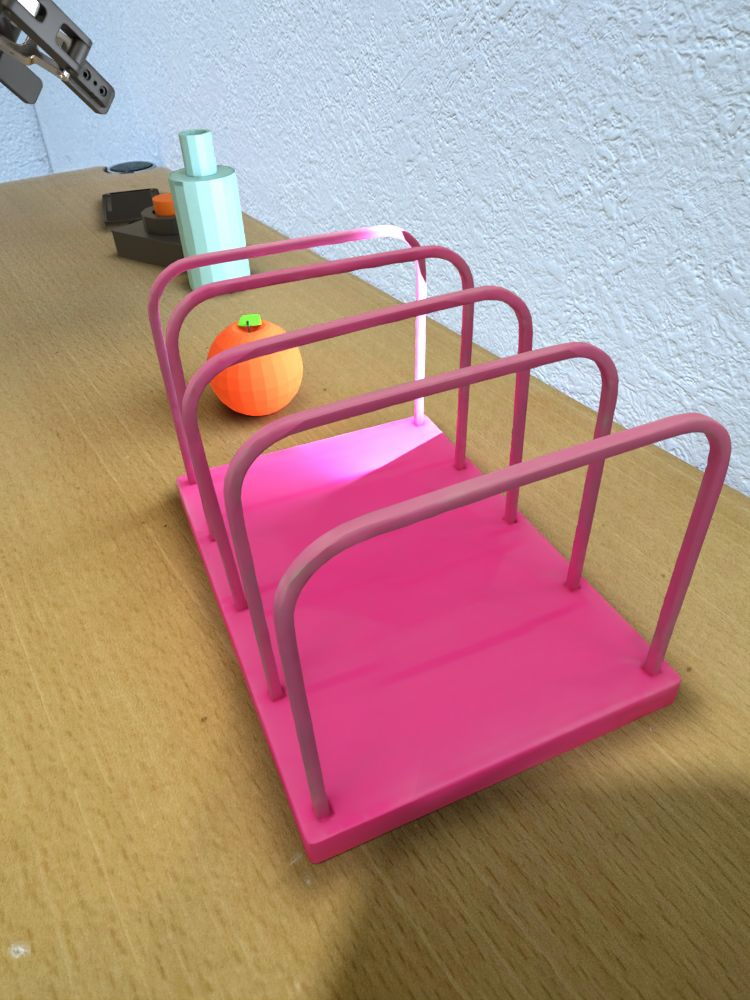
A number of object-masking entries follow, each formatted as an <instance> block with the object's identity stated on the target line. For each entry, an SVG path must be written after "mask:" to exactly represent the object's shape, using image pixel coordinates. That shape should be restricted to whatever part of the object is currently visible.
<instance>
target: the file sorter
mask: <svg viewBox="0 0 750 1000" xmlns="http://www.w3.org/2000/svg"><path fill="white" fill-rule="evenodd" d="M381 237H382V238H384V237H385V238H387V237H390V238H393V239H394V238H395V239H398V240H401V241H403V242H404V243H405V244H406V245H407V246H408V247H405V248H401V249H395V250H389V251H383V252H378V253H377V252H376V253H371V254H364V255H358V256H352V257H346V258H340V259H334V260H327V261H323V262H317V263H311V264H306V265H305V264H304V265H299V266H293V267H287V268H282V269H276V270H271V271H264V272H260V273H255V274H250V275H248V276H243V277H238V278H232V279H227V280H222V281H218V282H213V283H208V284H206V285H203V286H201V287H199V288H197V289H195V290H194V291H193V290H192V291H191V292H189V293H188V294H186V295H185V296H184V297H183V298H182V299H181V300H179V302H178V303H177V305H176V306H175V307H174V308H173V311H172V312H171V314H170V316H169V318H168V321H167V324H166V328H165V337H164V332H163V327H162V321H161V316H160V301H161V298H162V296H163V294H164V291H165V289H166V287H167V286H168V284H169V283H171V281H172V280H173V279H174V278H176V277H177V276H178V275H180V274H183V273H185V272H184V271H187V270H191V269H194V268H198V267H204V266H209V265H214V264H220V263H226V262H232V261H238V260H244V259H248V260H249V259H254V258H261V257H267V256H272V255H278V254H282V253H287V252H294V251H300V250H307V249H312V248H316V247H317V248H318V247H323V246H335V245H339V244H343V243H348V242H358V241H364V240H369V239H377V238H381ZM426 259H439V260H444V261H447V262H449V263H451V264H452V266H454V268H455V269H456V270H457V272H458V275H459V277H460V280H461V290H457V291H453V292H448V293H443V294H439V295H435V296H430V297H427V265H426V263H427V262H426ZM409 262H410V263H411V262H414V263H415V264H414V266H415V300H412V301H409V302H405V303H401V304H397V305H396V304H395V305H392V306H387V307H383V308H379V309H374V310H370V311H367V312H361V313H358V314H354V315H350V316H347V317H342V318H337V319H334V320H331V321H330V320H329V321H326V322H323V323H318V324H314V325H310V326H306V327H302V328H299V329H294V330H291V331H285V332H286V333H282V334H279V335H275V336H271V337H267V338H263V339H260V340H256V341H252V342H249V343H245V344H241V345H238V346H234V347H232V348H229V349H226V350H224V351H222V352H220V353H218V354H217V355H215V356H213V357H212V358H210V359H209V360H208V361H207V360H206V361H205V362H203V364H201V365H200V367H199V368H198V369H197V371H196V372H195V373H194V374H193V375H192V377H191V378H190V380H189V382H188V384H187V383H186V379H185V373H184V369H183V362H182V358H181V354H180V347H179V346H180V345H179V339H180V332H181V328H182V326H183V323H184V321H185V320H186V317H188V315H189V314H190V312H192V310H193V309H195V308H196V307H198V306H199V305H200V304H202V303H204V302H205V301H207V300H210V299H213V298H216V297H220V296H224V295H233V294H236V293H238V292H245V291H249V290H250V291H251V290H256V289H261V288H266V287H272V286H277V285H283V284H289V283H294V282H299V281H305V280H309V279H310V280H311V279H317V278H322V277H328V276H334V275H340V274H341V275H342V274H346V273H352V272H355V271H359V270H360V271H361V270H366V269H367V270H368V269H376V268H381V267H385V266H390V265H397V264H405V263H409ZM147 297H148V298H147V314H148V320H149V326H150V330H151V335H152V340H153V344H154V348H155V352H156V357H157V361H158V365H159V369H160V373H161V377H162V381H163V385H164V390H165V394H166V398H167V402H168V405H169V409H170V414H171V418H172V422H173V426H174V430H175V434H176V439H177V442H178V446H179V451H180V454H181V458H182V462H183V465H184V470H185V474H182V475H179V476H177V478H176V480H175V481H176V487H177V492H178V496H179V500H180V503H181V505H182V508H183V511H184V514H185V516H186V517H185V518H186V519H187V522H188V525H189V528H190V531H191V534H192V536H193V539H194V542H195V544H196V548H197V550H198V553H199V556H200V559H201V561H202V564H203V567H204V570H205V573H206V575H207V579H208V581H209V584H210V587H211V589H212V592H213V595H214V598H215V601H216V603H217V604H216V605H217V606H218V609H219V612H220V616H221V618H222V621H223V624H224V627H225V629H226V632H227V635H228V638H229V640H230V643H231V647H232V649H233V652H234V654H235V658H236V661H237V663H238V666H239V669H240V671H241V674H242V677H243V681H244V683H245V685H246V689H247V691H248V693H249V697H250V700H251V702H252V705H253V708H254V711H255V714H256V716H257V720H258V722H259V725H260V728H261V730H262V733H263V735H264V739H265V741H266V744H267V747H268V750H269V753H270V756H271V758H272V759H271V760H272V762H273V765H274V767H275V770H276V772H277V775H278V778H279V781H280V784H281V786H282V790H283V792H284V795H285V798H286V800H287V804H288V807H289V809H290V812H291V816H292V817H293V820H294V821H293V822H294V824H295V826H296V829H297V832H298V835H299V838H300V841H301V843H302V846H303V849H304V853H305V855H306V858H307V860H309V862H311V863H312V864H315V865H317V864H319V863H322V862H325V861H327V860H329V859H332V858H334V857H336V856H337V855H341V854H342V853H344V852H347V851H349V850H351V849H354V848H356V847H358V846H360V845H362V844H365V843H367V842H369V841H371V840H373V839H376V838H377V837H380V836H383V835H385V834H387V833H389V832H391V831H393V830H395V829H398V828H400V827H403V826H405V825H407V824H409V823H411V822H414V821H415V820H417V819H420V818H422V817H424V816H426V815H429V814H431V813H433V812H436V811H437V810H441V809H442V808H445V807H447V806H449V805H451V804H453V803H456V802H458V801H460V800H462V799H464V798H467V797H470V796H471V795H473V794H475V793H477V792H480V791H482V790H484V789H486V788H489V787H492V786H494V785H495V784H497V783H499V782H503V781H504V780H506V779H509V778H511V777H513V776H516V775H518V774H520V773H522V772H524V771H526V770H528V769H531V768H533V767H536V766H537V765H540V764H543V763H544V762H547V761H549V760H551V759H554V758H556V757H558V756H560V755H562V754H565V753H567V752H570V751H572V750H574V749H576V748H578V747H580V746H582V745H586V744H587V743H589V742H591V741H594V740H596V739H598V738H601V737H602V736H605V735H606V734H607V735H608V734H610V733H611V732H613V731H616V730H618V729H620V728H622V727H624V726H627V725H629V724H631V723H633V722H635V721H637V720H639V719H641V718H644V717H646V716H648V715H651V714H652V713H655V712H657V711H660V710H663V709H664V708H667V707H668V706H670V705H672V704H674V703H675V700H676V698H677V694H678V692H679V690H680V689H679V688H680V686H681V683H682V678H681V676H680V674H679V673H678V672H677V671H676V670H675V669H674V668H673V667H672V666H671V665H670V664H669V663H668V662H667V661H666V660H665V656H666V654H667V650H668V648H669V645H670V642H671V639H672V636H673V632H674V629H675V627H676V624H677V621H678V618H679V615H680V613H681V609H682V606H683V603H684V601H685V598H686V595H687V593H688V589H689V587H690V584H691V580H692V578H693V575H694V572H695V569H696V565H697V563H698V559H699V557H700V554H701V551H702V548H703V545H704V542H705V540H706V536H707V534H708V530H709V528H710V525H711V522H712V520H713V516H714V513H715V510H716V508H717V504H718V501H719V498H720V495H721V492H722V490H723V486H724V484H725V480H726V477H727V473H728V470H729V466H730V461H731V455H732V449H733V448H732V439H731V436H730V433H729V431H728V430H727V429H726V427H724V425H722V424H721V423H720V422H718V421H717V420H715V419H714V418H713V417H711V416H708V415H706V414H704V413H700V412H685V413H680V414H679V413H678V414H674V415H669V416H666V417H663V418H660V419H656V420H654V421H650V422H646V423H644V424H640V425H637V426H634V427H630V428H627V429H624V430H621V431H617V432H614V433H612V428H613V423H614V417H615V411H616V407H617V400H618V397H619V383H620V379H619V373H618V369H617V366H616V364H615V362H614V361H613V359H612V357H611V356H610V355H609V354H608V353H606V351H604V350H603V349H601V348H599V347H598V346H596V345H593V344H592V343H588V342H584V341H570V342H569V341H568V342H564V343H559V344H553V345H549V346H544V347H541V348H537V349H536V348H535V349H533V343H534V342H533V341H534V338H533V337H534V326H533V316H532V314H531V311H530V309H529V307H528V305H527V304H526V303H525V301H524V300H523V299H522V298H521V297H520V296H518V295H517V294H516V293H514V292H512V290H509V289H507V288H506V287H503V286H498V285H481V286H475V282H474V276H473V273H472V270H471V268H470V266H469V264H468V263H467V261H466V260H465V259H464V258H463V257H462V256H461V255H460V254H458V253H457V252H456V251H454V250H452V249H450V248H448V247H445V246H442V245H435V244H434V245H433V244H430V245H428V244H427V245H421V244H420V242H419V241H418V240H417V239H416V237H415V236H413V235H412V234H411V233H410V232H409V231H407V230H405V229H403V228H401V227H399V226H395V225H391V224H382V225H372V226H366V227H359V228H351V229H345V230H340V231H332V232H326V233H319V234H313V235H307V236H301V237H300V236H299V237H295V238H287V239H282V240H276V241H270V242H264V243H258V244H253V245H246V246H245V247H240V248H234V249H228V250H222V251H216V252H210V253H205V254H200V255H194V256H189V257H186V258H183V259H180V260H178V261H176V262H174V263H172V264H170V265H169V266H168V267H167V268H166V267H164V269H163V270H162V271H161V272H160V273H159V274H158V276H157V277H156V278H155V280H154V282H153V284H152V286H151V288H150V289H149V293H148V296H147ZM483 301H484V302H485V301H496V302H497V301H499V302H502V303H504V304H506V305H507V306H509V308H510V309H512V310H513V312H514V314H515V317H516V319H517V320H516V321H517V324H518V339H517V341H518V343H517V344H518V345H517V352H516V353H517V354H513V355H509V356H504V357H501V358H497V359H493V360H489V361H485V362H482V363H478V364H474V365H472V355H473V353H472V352H473V340H474V339H473V336H474V322H475V321H474V320H475V318H474V317H475V303H479V302H483ZM461 306H462V310H461V311H462V312H461V315H462V316H461V329H460V350H459V351H460V352H459V368H457V369H454V370H450V371H446V372H441V373H439V374H435V375H430V376H427V377H425V370H426V369H425V368H426V365H425V364H426V321H427V320H426V319H427V318H426V317H427V315H429V314H432V313H436V312H440V311H444V310H445V311H446V310H450V309H453V308H457V307H461ZM413 318H415V323H414V324H415V343H414V353H415V355H414V357H415V358H414V360H415V361H414V380H412V381H409V382H404V383H401V384H397V385H393V386H390V387H389V386H388V387H384V388H380V389H378V390H374V391H371V392H367V393H362V394H359V395H356V396H352V397H349V398H344V399H340V400H337V401H333V402H330V403H327V404H322V405H319V406H315V407H311V408H308V409H305V410H301V411H298V412H294V413H291V414H287V415H285V416H281V417H279V418H277V419H274V420H272V421H271V422H269V423H267V424H265V425H264V426H262V427H260V428H259V429H258V430H256V431H255V432H253V434H251V436H249V437H248V438H247V439H246V440H245V441H244V442H243V443H242V444H241V446H239V448H237V450H236V452H235V453H234V455H233V456H232V458H231V459H230V461H229V462H228V463H226V464H221V465H218V466H213V467H209V462H208V459H207V455H206V451H205V447H204V443H203V439H202V436H201V431H200V427H199V421H198V407H199V403H200V400H201V398H202V394H203V393H204V391H205V390H206V388H207V386H208V385H210V381H211V380H212V379H213V378H214V377H215V376H216V375H218V374H219V373H220V372H222V371H223V370H225V369H226V368H228V367H230V366H233V365H235V364H238V363H241V362H245V361H248V360H251V359H254V358H258V357H262V356H266V355H270V354H273V353H277V352H281V351H284V350H288V349H292V348H295V347H298V348H299V347H303V346H306V345H310V344H314V343H319V342H321V341H325V340H329V339H333V338H337V337H342V336H345V335H348V334H352V333H356V332H359V331H364V330H367V329H371V328H375V327H380V326H383V325H387V324H392V323H397V322H401V321H406V320H407V319H413ZM577 358H579V359H587V360H590V361H592V362H594V364H595V365H596V366H597V369H598V371H599V372H600V379H601V388H600V395H599V402H598V403H599V404H598V410H597V417H596V420H595V427H594V430H593V431H594V432H593V438H592V439H590V440H588V441H584V442H582V443H578V444H575V445H572V446H569V447H566V448H562V449H559V450H557V451H554V452H550V453H546V454H544V455H541V456H538V457H537V456H536V457H535V458H531V459H528V460H525V461H523V454H524V453H523V452H524V444H525V434H526V433H525V432H526V423H527V422H526V420H527V412H528V411H527V410H528V402H529V401H528V400H529V389H530V379H531V370H533V369H536V368H539V367H542V366H546V365H549V364H554V363H558V362H562V361H567V360H569V359H577ZM513 374H515V386H514V397H513V399H514V400H513V415H512V416H513V417H512V428H511V440H510V451H509V461H508V466H506V467H503V468H500V469H498V470H497V469H496V470H494V471H491V472H488V473H485V474H484V473H482V472H481V470H480V469H479V468H478V467H477V466H476V465H475V464H474V463H473V462H472V461H471V460H470V459H469V458H468V457H467V456H466V451H467V436H468V420H469V405H470V404H469V403H470V390H471V389H470V388H471V387H470V386H471V385H475V384H478V383H481V382H485V381H489V380H493V379H497V378H501V377H504V376H507V375H513ZM456 389H457V390H458V391H457V410H456V411H457V414H456V427H455V429H456V430H455V444H454V443H453V442H452V441H451V439H449V437H448V436H447V435H446V434H445V433H444V432H443V431H442V430H441V429H440V428H439V427H438V426H437V425H436V424H435V423H434V422H433V421H432V420H431V419H430V418H429V416H427V415H426V414H424V413H425V405H424V404H425V402H424V401H425V400H424V399H425V398H426V397H429V396H433V395H437V394H441V393H445V392H449V391H452V390H456ZM408 402H414V404H413V405H414V410H413V411H414V412H413V416H411V417H407V418H402V419H397V420H393V421H389V422H385V423H381V424H379V425H374V426H370V427H366V428H363V429H359V430H354V431H350V432H347V433H342V434H339V435H334V436H331V437H326V438H323V439H318V440H315V441H310V442H307V443H303V444H299V445H294V446H291V447H287V448H284V449H279V450H275V451H271V452H268V453H264V452H265V451H266V450H268V449H269V448H270V447H272V446H273V445H274V444H276V443H278V442H281V440H284V439H286V438H288V437H290V436H293V435H295V434H299V433H302V432H306V431H310V430H312V429H315V428H320V427H323V426H326V425H330V424H333V423H338V422H340V421H343V420H348V419H351V418H354V417H358V416H363V415H366V414H370V413H373V412H376V411H380V410H384V409H386V408H391V407H393V406H397V405H401V404H406V403H408ZM694 433H699V434H700V433H701V434H703V435H704V436H705V437H706V439H707V442H708V444H709V451H708V455H707V460H706V467H705V469H704V473H703V475H702V479H701V482H700V486H699V489H698V492H697V495H696V498H695V502H694V505H693V509H692V512H691V515H690V517H689V521H688V524H687V526H686V527H687V528H686V530H685V533H684V536H683V539H682V542H681V545H680V549H679V552H678V555H677V557H676V561H675V565H674V568H673V571H672V573H671V577H670V580H669V584H668V587H667V590H666V592H665V594H664V598H663V603H662V606H661V608H660V611H659V614H658V615H659V616H658V619H657V622H656V626H655V630H654V632H653V636H652V640H651V643H650V644H649V643H648V642H647V641H646V639H644V637H642V636H641V635H640V633H639V632H638V631H637V630H636V629H635V628H634V627H633V626H632V625H631V624H630V623H629V622H628V621H627V620H626V619H625V618H624V617H623V616H622V614H620V612H618V611H617V610H616V609H615V608H614V607H613V605H611V604H610V603H609V602H608V601H607V600H606V599H605V598H604V596H602V594H600V592H599V591H597V589H595V587H593V586H592V585H591V583H589V582H588V580H587V579H586V578H585V577H583V575H582V574H583V570H584V565H585V561H586V555H587V551H588V545H589V542H590V538H591V537H590V536H591V533H592V527H593V522H594V517H595V511H596V508H597V502H598V497H599V494H600V493H599V491H600V487H601V483H602V478H603V473H604V467H605V462H606V460H607V459H611V458H612V457H616V456H619V455H622V454H625V453H628V452H631V451H634V450H638V449H640V448H644V447H646V446H649V445H653V444H656V443H658V442H662V441H666V440H669V439H673V438H676V437H679V436H683V435H688V434H694ZM263 453H264V454H263ZM585 466H587V470H586V476H585V481H584V485H583V491H582V495H581V496H582V497H581V502H580V507H579V513H578V519H577V524H576V527H575V532H574V537H573V542H572V549H571V554H570V559H569V561H568V560H567V559H566V558H565V557H564V555H562V554H561V553H560V552H559V550H557V548H555V546H554V545H552V544H551V543H550V541H549V540H547V538H546V537H545V536H544V535H543V534H542V533H541V532H540V531H539V530H538V529H537V528H536V527H535V526H534V525H533V524H532V523H531V522H530V521H529V519H527V518H526V516H524V515H523V513H521V511H520V510H518V503H519V497H520V496H519V495H520V488H521V487H524V486H527V485H530V484H534V483H537V482H539V481H543V480H546V479H549V478H551V477H555V476H558V475H561V474H564V473H567V472H570V471H573V470H576V469H579V468H583V467H585ZM503 493H506V496H505V495H504V494H503Z"/></svg>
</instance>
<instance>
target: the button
mask: <svg viewBox="0 0 750 1000" xmlns="http://www.w3.org/2000/svg"><path fill="white" fill-rule="evenodd" d="M159 194H160V195H157V196H155V197H153V198H152V201H153V206H154V210H155V215H160V216H168V215H175V210H174V205H173V200H172V195H171V192H166V193H159Z"/></svg>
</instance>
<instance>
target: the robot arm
mask: <svg viewBox="0 0 750 1000" xmlns="http://www.w3.org/2000/svg"><path fill="white" fill-rule="evenodd" d="M60 30H61V31H60ZM22 32H23V33H24V34H25V35H26V37H25V39H24V41H23V42H22V43H18V40H19V37H20V36H21V33H22ZM93 44H94V42H93V41H92V40H91V38H90V37H89V36H88V35H87V34H86V33H85V32H84V31H83V30H82V29H81V28H80V27H79V26H78V25H77V23H75V22H74V21H73V19H72V18H70V17H69V16H68V15H67V14H66V13H65V12H64V11H63V9H61V7H60V6H58V5H57V4H56V3H55V2H54V1H53V0H0V84H2V85H3V86H4V87H5V88H6V89H7V90H8V91H10V93H12V94H13V95H14V96H16V97H17V98H18V99H19V100H20V101H21V102H22V103H23V104H27V105H35V104H36V103H37V101H38V99H39V98H40V97H39V96H40V94H41V92H42V90H43V88H44V84H43V83H44V82H43V80H42V79H41V78H40V77H39V76H38V75H37V74H36V73H35V72H34V71H33V70H32V69H30V67H28V66H32V65H37V66H39V67H40V68H42V69H44V70H45V71H47V72H48V73H50V74H51V75H53V76H55V77H56V78H57V79H59V80H60V82H62V83H63V84H64V85H65V86H66V87H67V88H68V89H69V90H70V91H71V92H72V93H73V94H75V95H76V96H77V97H78V98H79V99H80V100H81V101H82V103H84V105H86V106H87V107H88V108H89V109H90V110H92V112H93V113H94V114H97V115H104V116H105V115H107V114H109V113H108V112H109V111H110V109H111V106H112V105H113V101H114V100H115V98H116V91H115V88H114V86H113V85H112V84H111V83H109V81H107V79H106V78H105V77H104V76H103V75H102V74H101V73H100V72H99V71H98V70H97V69H96V67H94V66H93V65H92V64H91V63H90V62H89V61H88V60H87V58H88V56H89V53H90V51H91V49H92V46H93ZM39 49H41V50H42V51H40V50H39ZM44 52H45V53H44Z"/></svg>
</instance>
